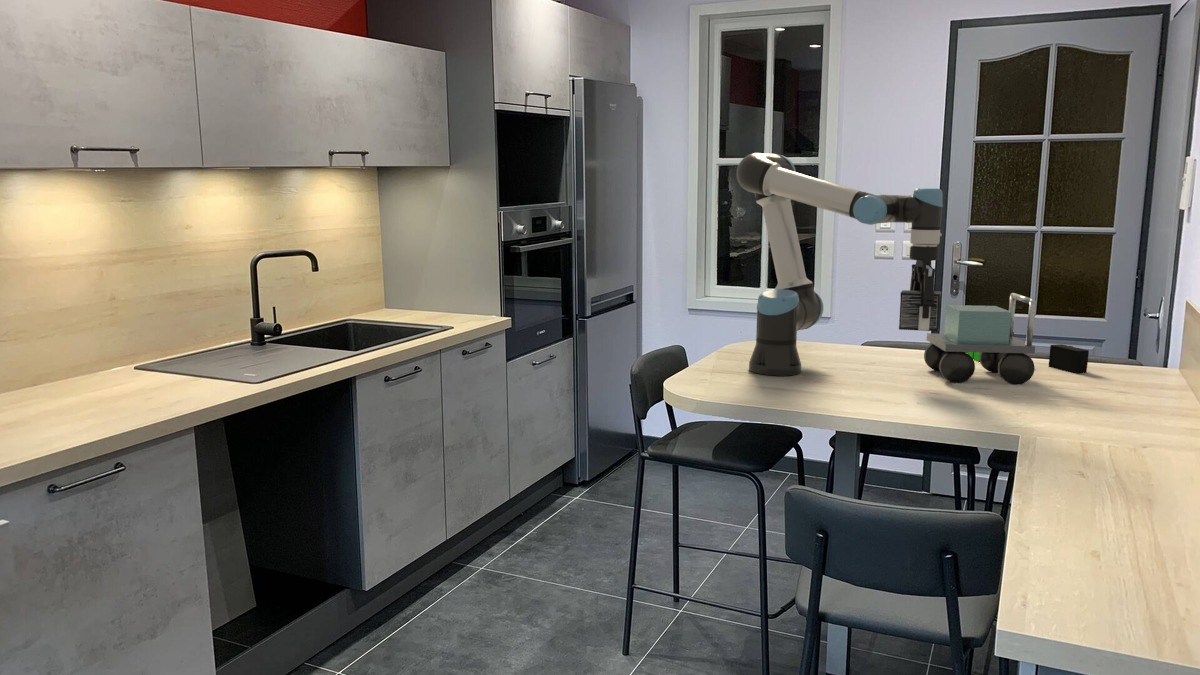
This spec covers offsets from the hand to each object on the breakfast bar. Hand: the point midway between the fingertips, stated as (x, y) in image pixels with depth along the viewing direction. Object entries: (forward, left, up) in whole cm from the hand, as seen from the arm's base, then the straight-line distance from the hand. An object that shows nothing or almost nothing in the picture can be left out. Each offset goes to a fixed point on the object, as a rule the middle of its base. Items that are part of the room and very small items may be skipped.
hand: (919, 327), depth 245 cm
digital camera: (+51, +22, -16) cm, 58 cm away
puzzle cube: (+32, +34, -16) cm, 50 cm away
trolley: (+19, +7, -15) cm, 26 cm away
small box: (0, 0, -1) cm, 1 cm away
